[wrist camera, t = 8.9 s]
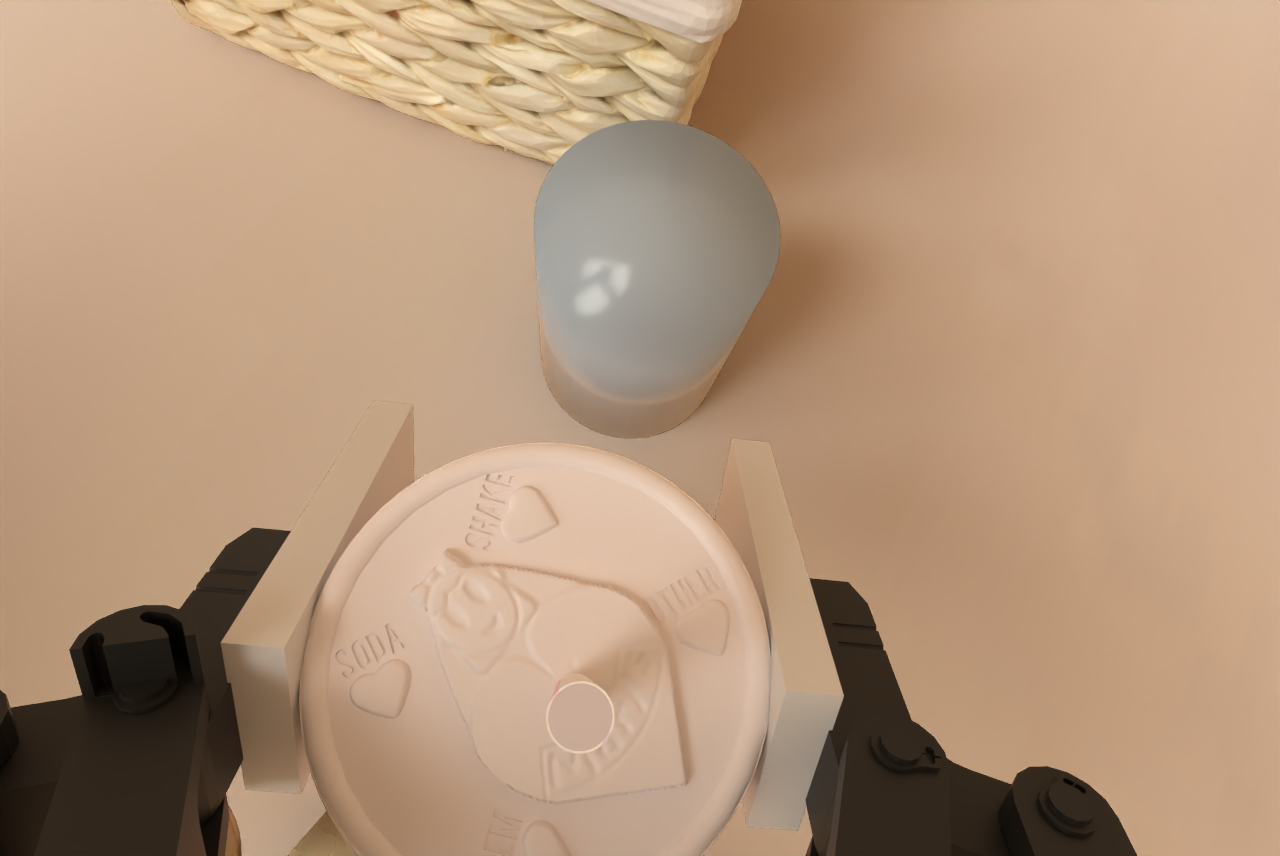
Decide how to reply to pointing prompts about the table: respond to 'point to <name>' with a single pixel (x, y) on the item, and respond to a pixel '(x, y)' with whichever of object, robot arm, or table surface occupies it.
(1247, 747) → the table surface
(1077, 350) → the table surface
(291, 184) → the table surface
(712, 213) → the grey domed cylinder
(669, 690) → the smoothie
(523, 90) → the storage basket
